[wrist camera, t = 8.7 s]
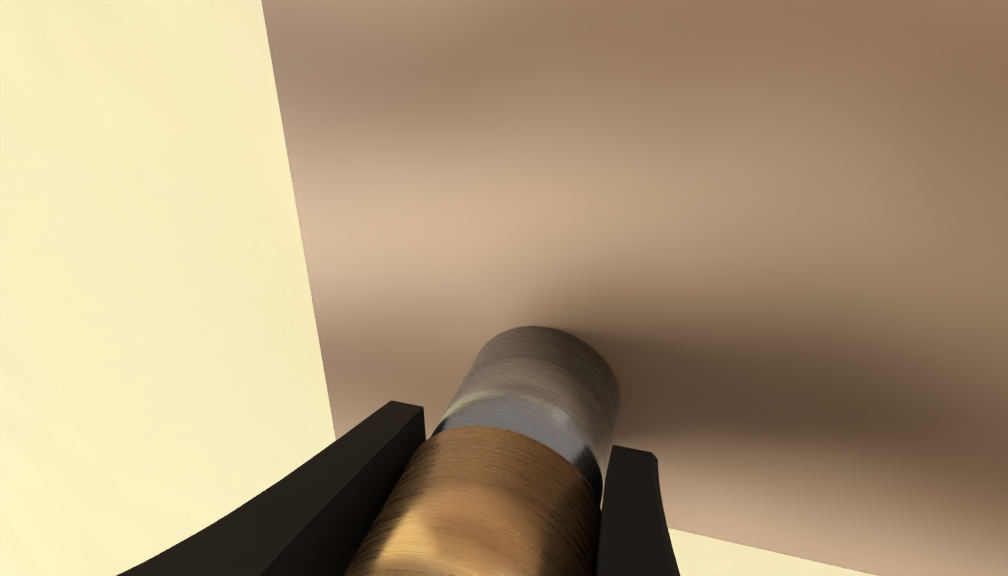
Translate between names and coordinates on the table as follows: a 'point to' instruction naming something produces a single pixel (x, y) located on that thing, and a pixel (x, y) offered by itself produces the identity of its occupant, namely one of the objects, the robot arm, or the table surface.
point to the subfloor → (684, 241)
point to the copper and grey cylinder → (506, 469)
